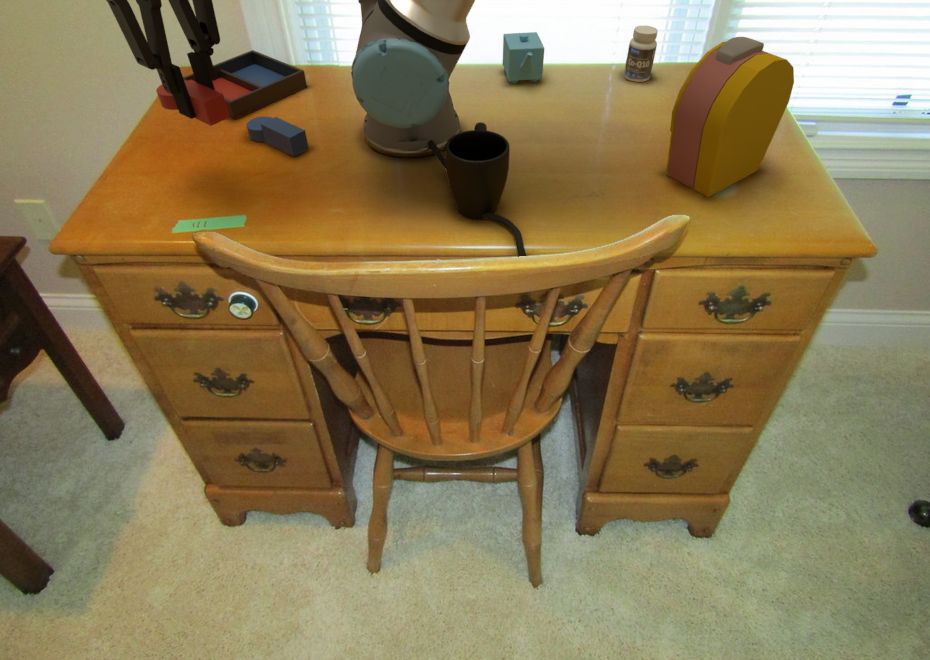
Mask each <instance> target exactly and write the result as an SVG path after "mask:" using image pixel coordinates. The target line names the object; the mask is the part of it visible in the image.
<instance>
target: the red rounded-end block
mask: <svg viewBox="0 0 930 660" xmlns="http://www.w3.org/2000/svg"><path fill="white" fill-rule="evenodd" d="M184 82H185V85H186V87H187V90H188V93H189V97H190V100H191V103H192V106H193V109H194V112H195V114H196V117H195V118H194V119H195V120H198V121H200V122H201V123H204V124H206V125H208V126H210V127H212V126H214V125H216V124H218V123H220V122H223V121H225V120H226V119H229V118H230V116H229V112H228V109H227V106H226V102H225V99H224V96H223V94H222V93H220V92H218V91H215V90H213V89H211V88H209V87H206V86H204V85H202V84H199V83H197V82H195V81H193V80H188V81H184ZM155 92H156V94H157V96H158V100H159V103H160V105H161V107H162V108H164V109H165V110H170V111H171V110H172V111H179V110H178V108H177V105H176V102H175V99H174V97H173V95H172V94H169V93H167V92H166V91H165V90H164V88H163V84H162V83H161V84H160V85H159V86H158V87H157V88H156V90H155Z"/></svg>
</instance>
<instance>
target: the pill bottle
mask: <svg viewBox="0 0 930 660" xmlns="http://www.w3.org/2000/svg"><path fill="white" fill-rule="evenodd" d="M658 33H659V32H658V29H657V28H656V27H655V26H651V25H642V24H641V25H637V26H635V27H634V29H633V32H632V38H631V39H630V41H629V44H628V49H627V54H626V55H627V56H626V62H625V67H624V72H623V76H624V78H625V79H626V80H628V81H631V82H635V83H642V82H647V81H649V80H650V78H651V74H652V70H653V66H654V61H655V58H656V57H655V56H656V51H657V46H658V42H657V41H656V40H657V36H658Z"/></svg>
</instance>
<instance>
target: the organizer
mask: <svg viewBox="0 0 930 660" xmlns="http://www.w3.org/2000/svg"><path fill="white" fill-rule="evenodd" d="M213 67H214V70H215V78H212V82H213V85H214V88H215V91H218V92H220V93H222V94H223V96H224V99H225V102H226V106H227V109H228V112H229V116H230V117H229V118H230V119H232V120H237V119H239V118H242V117H244V116H246V115H249V114H250V113H253V112H255V111H257V110H260V109H262V108H264V107H266V106H269V105H270V104H272V103H274V102H277V101H279V100H281V99H284V98H286V97H288V96H290V95H292V94H295V93H296V92H299V91H301V90H303V89H306V88H308V84H307V78H306V74H305V70H304V69H301V68H299V67H296V66H293V65H291V64H290V63H289V64H288V63H287V62H283V61H281V60H279V59H276V58H275V57H271V56H269V55H265V54H264V53H261V52H259V51H257V50H254V49H252V50H248V51H246V52H244V53H242V54H239V55H236V56H234V57H231V58H229V59H226V60H223V61H221V62H219V63H216V64H213ZM183 79H184V81H188V80H193V81H195V82H196V80H195V77H194V74H193V73H190V74H188V75H185V76H183Z"/></svg>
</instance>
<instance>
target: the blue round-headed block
mask: <svg viewBox="0 0 930 660" xmlns="http://www.w3.org/2000/svg"><path fill="white" fill-rule="evenodd" d="M246 129H247V132H248V136H249V139H250V140H251V141H254V142H257V143H265V144H267V145H269V146H271V147H273V148H275V149H278V150H279V151H281V152H283V153H285V154H288V155H290V156H291V157H293V158H294V157H297V156H298V155H300V154H302V153H305V152H306V151H308V150H309V149H310V148H309V143H308V138H307V133H306V130H305V129H304V128H301V127H299V126H296V125H295V124H292V123H290V122H288V121H286V120H283V119H282V118H279V117H277V116H274V117H271V116H267V115H266V116H265V115H264V116H256V117H254V118H251V119H250V120H248V121H247V122H246Z"/></svg>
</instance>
